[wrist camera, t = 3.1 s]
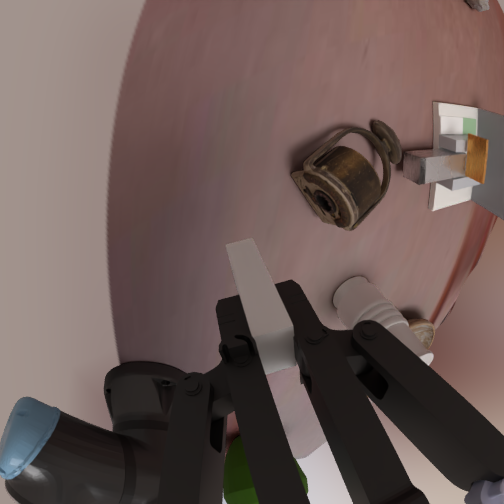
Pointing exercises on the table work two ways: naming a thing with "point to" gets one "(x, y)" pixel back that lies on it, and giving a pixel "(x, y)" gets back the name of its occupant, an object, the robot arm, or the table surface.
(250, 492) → the vase
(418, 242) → the table surface
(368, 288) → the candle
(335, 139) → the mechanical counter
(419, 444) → the robot arm
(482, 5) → the stone
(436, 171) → the grey metal bar
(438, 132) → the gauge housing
